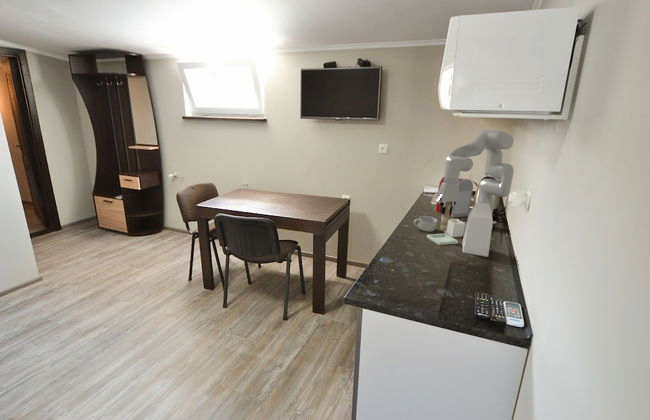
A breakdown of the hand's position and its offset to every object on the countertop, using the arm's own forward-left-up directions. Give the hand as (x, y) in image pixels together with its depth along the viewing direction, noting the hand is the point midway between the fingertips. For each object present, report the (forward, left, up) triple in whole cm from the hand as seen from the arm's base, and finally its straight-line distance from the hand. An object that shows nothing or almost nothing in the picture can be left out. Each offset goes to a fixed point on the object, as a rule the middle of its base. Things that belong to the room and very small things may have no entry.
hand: (445, 213), depth 178 cm
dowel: (0, 0, -9) cm, 9 cm away
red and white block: (-43, -49, -17) cm, 68 cm away
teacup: (0, -18, -17) cm, 25 cm away
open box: (-13, -7, -17) cm, 22 cm away
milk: (-10, +15, -17) cm, 25 cm away
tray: (0, 0, -17) cm, 17 cm away
